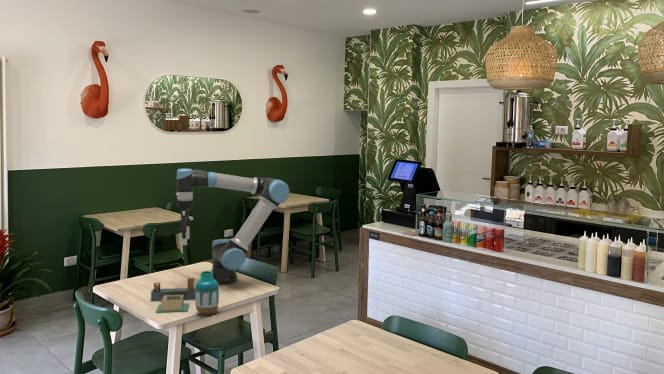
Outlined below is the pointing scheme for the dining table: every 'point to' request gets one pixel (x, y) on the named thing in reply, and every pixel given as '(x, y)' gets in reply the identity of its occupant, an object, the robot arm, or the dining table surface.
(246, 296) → the dining table surface
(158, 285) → the knobbed metal bar
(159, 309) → the felt pad
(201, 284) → the vase
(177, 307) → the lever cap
